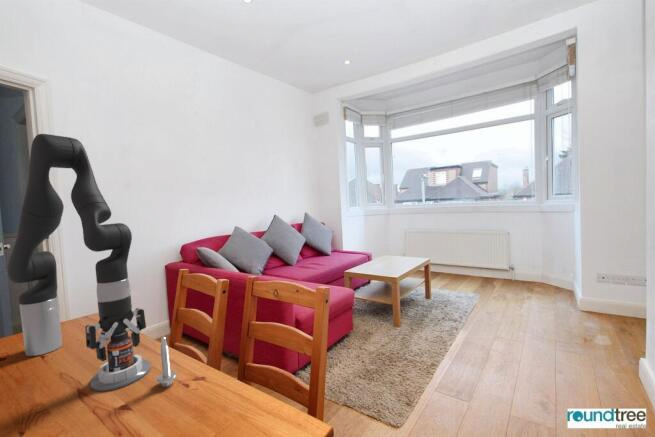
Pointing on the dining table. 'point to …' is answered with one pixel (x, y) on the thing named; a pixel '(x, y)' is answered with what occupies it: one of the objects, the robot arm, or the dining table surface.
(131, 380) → the bottle coaster
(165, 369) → the screw
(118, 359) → the supplement bottle
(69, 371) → the dining table surface
